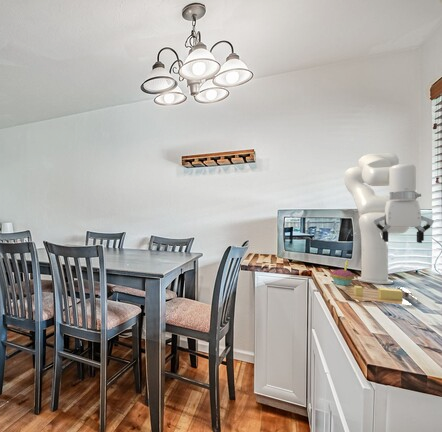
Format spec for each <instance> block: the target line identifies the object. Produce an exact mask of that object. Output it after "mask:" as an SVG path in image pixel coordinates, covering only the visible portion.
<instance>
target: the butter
mask: <svg viewBox="0 0 442 432" xmlns="http://www.w3.org/2000/svg"><path fill="white" fill-rule="evenodd" d="M377 290H378V296H379V297H380V298H385V299H395V300H403V298H404V296H403V292H402V291H401V290H400V289H397V288H391V287H390V288H388V287H377Z"/></svg>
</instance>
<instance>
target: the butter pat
mask: <svg viewBox="0 0 442 432" xmlns="http://www.w3.org/2000/svg"><path fill="white" fill-rule="evenodd" d="M353 287H354V294H355V295H356V296H363V288H364V287H362V286H361V285H353Z"/></svg>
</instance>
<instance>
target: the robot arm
mask: <svg viewBox="0 0 442 432" xmlns="http://www.w3.org/2000/svg"><path fill="white" fill-rule="evenodd" d="M343 182H344V185H345V187H346V189H347V191H348V192H349V193H350V195H351V196H352V198H353V201H354V203H355V206H356V209H357V211H358V213H359V214H360V216H359V218H358V227H359V232H360V240H361V241H360V244H361V245H360V247H361V252H360V253H361V256H360V257H361V261H360V262H361V271H360V272H361V273H360V274H361V275H360V276H357V277H356V280H357V281H359V282H362V283H368V284H373V285H374V284H375V285H392V284H393V283H394V282H393V280H392V279H389V243H388V242H389V234H390V235H391V234H392V235H394V234H395V235H398V234H399V235H400V234H405V233H406V232H407V231H409V229H410V228H414V229H416V230H417V232H416V243H418V244H422V243H423V242H424V240H425V233H426V231H428V230H429V229H430V228H431V226H432V225H433V224H434V222H435V220H434V219H431V218H429V217H426V216H424V215H422V211H421V206H420V202H419V200H417V198H421V197H422V194H421V193H418V192H417V167H416V165H415V164H413V163H404V164H403V163H402V164H400V159H399V157H398V155H397V154H396V153H394V152H376V153H367V154H364V155H362V156H361V157H360V158H359V159H358V163H357V166H352V167H349V168H347V169H346V170H345V171H344V173H343ZM370 186H371V187H385V186H386V187H389V188H388V189H389V190H388V192H389V193H388V195H381V196H379V195H376V192H375V191H374V189H373V188H371V187H370ZM422 221H424V222H426V223H425V224H424V226H422Z"/></svg>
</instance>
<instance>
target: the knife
mask: <svg viewBox="0 0 442 432" xmlns="http://www.w3.org/2000/svg"><path fill="white" fill-rule="evenodd" d="M396 289H400V290H401V291H402V292H403V297H405V298H408V299H410V300H411V301H412V302H413V303H415V304H417V305H419V299H418V298H417V297H415V296H413V294H412V292H411V291H409V290H408V289H407V288H405V287H404V286H397V287H396Z"/></svg>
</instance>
